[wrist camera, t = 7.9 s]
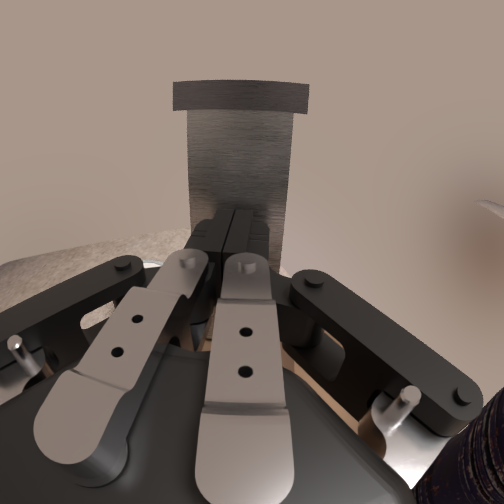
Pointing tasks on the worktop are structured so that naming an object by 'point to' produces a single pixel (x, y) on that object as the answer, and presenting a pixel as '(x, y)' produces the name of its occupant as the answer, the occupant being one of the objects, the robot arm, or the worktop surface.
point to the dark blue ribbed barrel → (469, 463)
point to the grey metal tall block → (240, 150)
